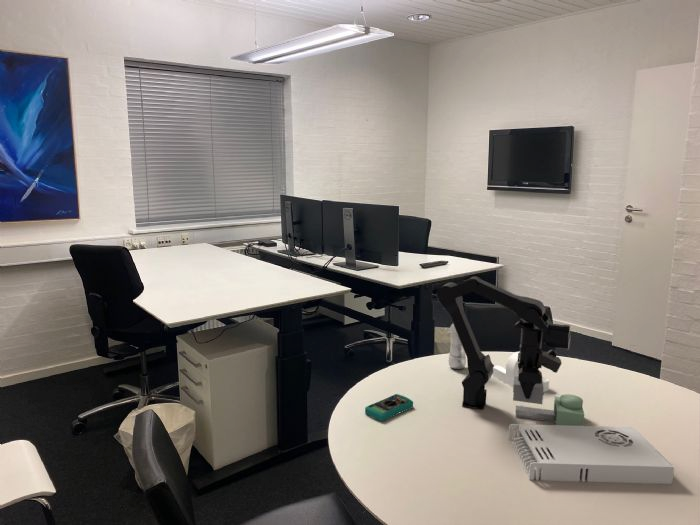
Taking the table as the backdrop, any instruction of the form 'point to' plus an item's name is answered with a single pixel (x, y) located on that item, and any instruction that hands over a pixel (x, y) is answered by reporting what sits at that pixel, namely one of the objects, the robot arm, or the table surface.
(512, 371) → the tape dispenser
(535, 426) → the power supply unit
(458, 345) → the plastic bottle
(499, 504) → the table surface
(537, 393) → the chute
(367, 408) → the digital multimeter
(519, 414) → the green domed block
